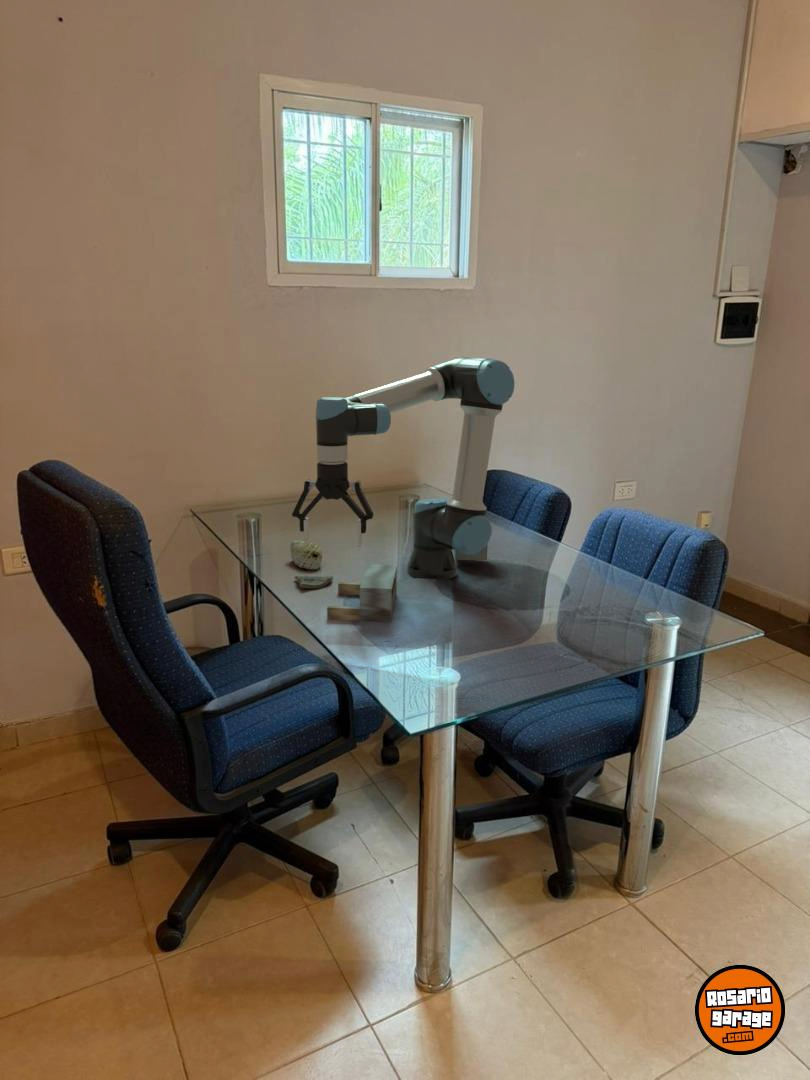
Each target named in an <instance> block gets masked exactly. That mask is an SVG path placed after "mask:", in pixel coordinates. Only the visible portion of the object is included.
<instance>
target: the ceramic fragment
mask: <svg viewBox="0 0 810 1080" xmlns="http://www.w3.org/2000/svg"><path fill="white" fill-rule="evenodd" d="M333 579H334V577H333V575H321V576H320V575H318V576H317V575H313V576H312V575H311V576H308V575H294V580H296V582H297V583H298V585H299V587H300V588H304V589H322V588H323V587H325V586H327V585H328V584H330V582H332V581H333Z"/></svg>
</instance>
